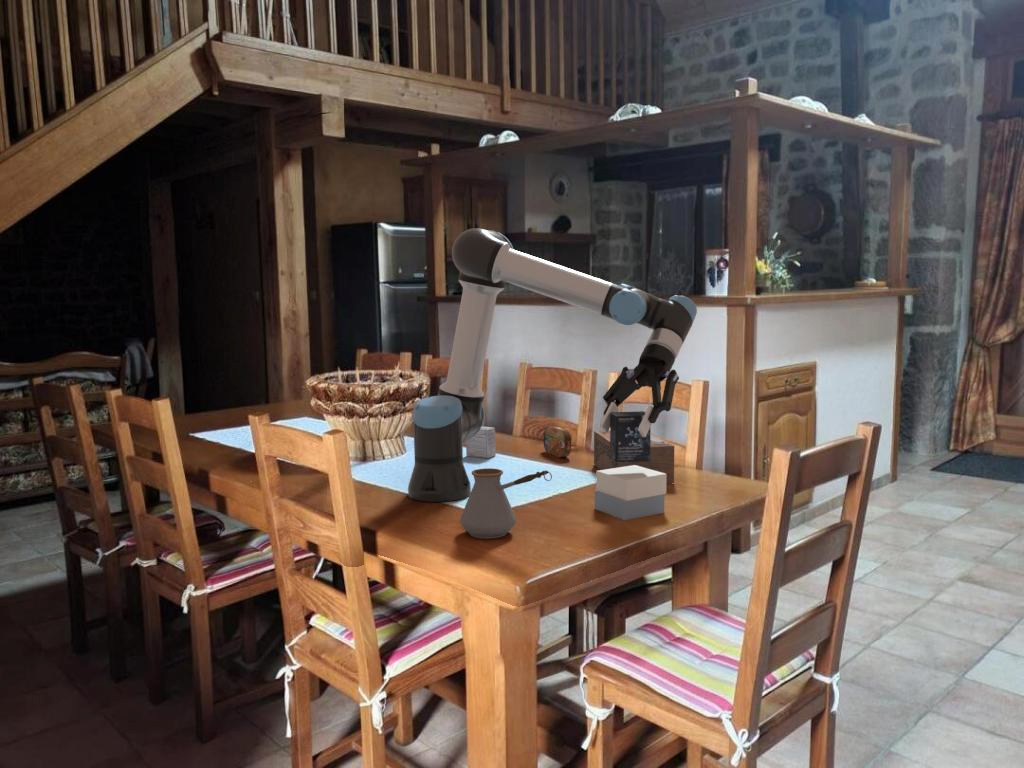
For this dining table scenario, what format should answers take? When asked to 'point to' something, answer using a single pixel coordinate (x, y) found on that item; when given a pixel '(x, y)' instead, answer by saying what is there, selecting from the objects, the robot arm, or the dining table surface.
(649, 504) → the block
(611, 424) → the box
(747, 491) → the dining table surface
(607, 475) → the tower top
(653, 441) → the tissue box cover
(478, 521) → the coffee pot
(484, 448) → the medicine box
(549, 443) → the tin
